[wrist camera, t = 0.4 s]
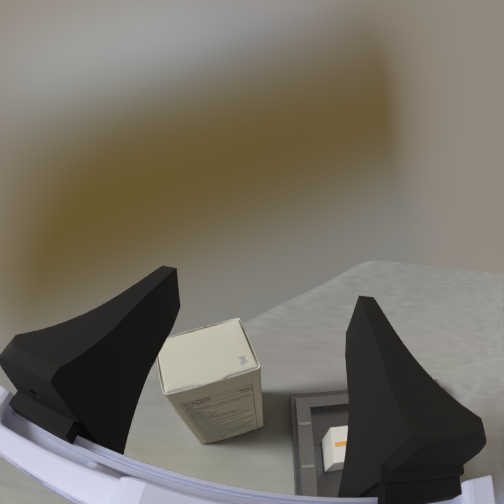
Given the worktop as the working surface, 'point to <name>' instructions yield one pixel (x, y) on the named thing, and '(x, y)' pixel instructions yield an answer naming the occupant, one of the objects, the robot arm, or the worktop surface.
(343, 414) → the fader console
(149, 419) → the worktop surface
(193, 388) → the skincare box
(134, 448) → the worktop surface
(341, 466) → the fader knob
